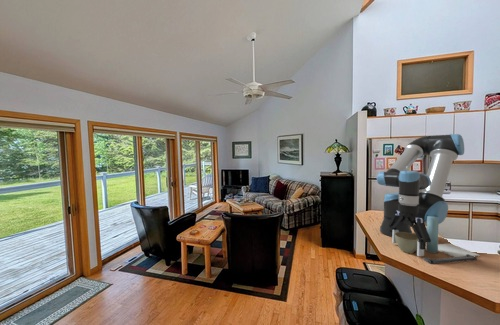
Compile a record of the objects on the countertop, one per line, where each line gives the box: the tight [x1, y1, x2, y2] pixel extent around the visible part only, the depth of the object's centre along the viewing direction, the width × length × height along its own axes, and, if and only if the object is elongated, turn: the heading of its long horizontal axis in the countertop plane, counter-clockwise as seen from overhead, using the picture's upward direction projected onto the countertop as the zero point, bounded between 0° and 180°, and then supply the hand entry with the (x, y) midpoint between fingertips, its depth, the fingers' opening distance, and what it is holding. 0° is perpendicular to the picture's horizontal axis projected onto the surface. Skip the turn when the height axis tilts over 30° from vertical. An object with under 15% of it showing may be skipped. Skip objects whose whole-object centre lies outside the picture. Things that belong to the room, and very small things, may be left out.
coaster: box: [438, 243, 480, 258], centre depth 97 cm, size 12×12×1 cm
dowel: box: [425, 216, 439, 254], centre depth 97 cm, size 4×4×16 cm
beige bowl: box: [395, 232, 419, 254], centre depth 98 cm, size 10×10×7 cm
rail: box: [423, 254, 478, 265], centre depth 89 cm, size 3×22×1 cm, turn 97°
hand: (407, 248), depth 98 cm, fingers open, 13 cm apart
